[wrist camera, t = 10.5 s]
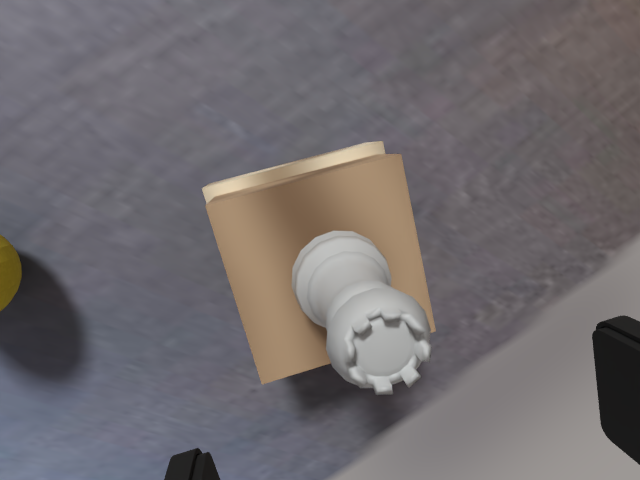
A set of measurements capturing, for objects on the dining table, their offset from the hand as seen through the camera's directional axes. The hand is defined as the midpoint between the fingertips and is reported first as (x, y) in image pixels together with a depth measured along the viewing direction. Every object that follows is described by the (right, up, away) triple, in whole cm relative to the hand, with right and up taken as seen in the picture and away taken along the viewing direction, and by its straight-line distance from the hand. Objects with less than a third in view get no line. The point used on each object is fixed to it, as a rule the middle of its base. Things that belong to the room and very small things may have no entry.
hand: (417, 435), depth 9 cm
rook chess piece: (-1, +3, +10) cm, 11 cm away
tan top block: (-2, +4, +14) cm, 14 cm away
